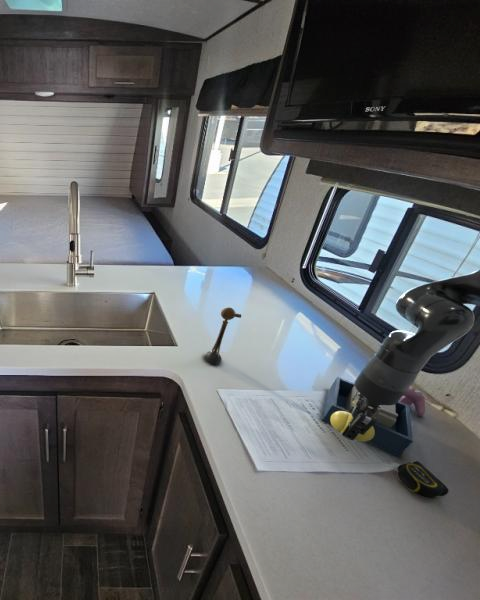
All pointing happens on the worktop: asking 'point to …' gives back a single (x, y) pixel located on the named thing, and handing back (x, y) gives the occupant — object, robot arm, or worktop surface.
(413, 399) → the video game controller
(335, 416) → the yellow capsule
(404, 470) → the tape measure
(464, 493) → the worktop surface
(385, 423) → the block
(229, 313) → the wooden tabletop sculpture
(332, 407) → the crate
